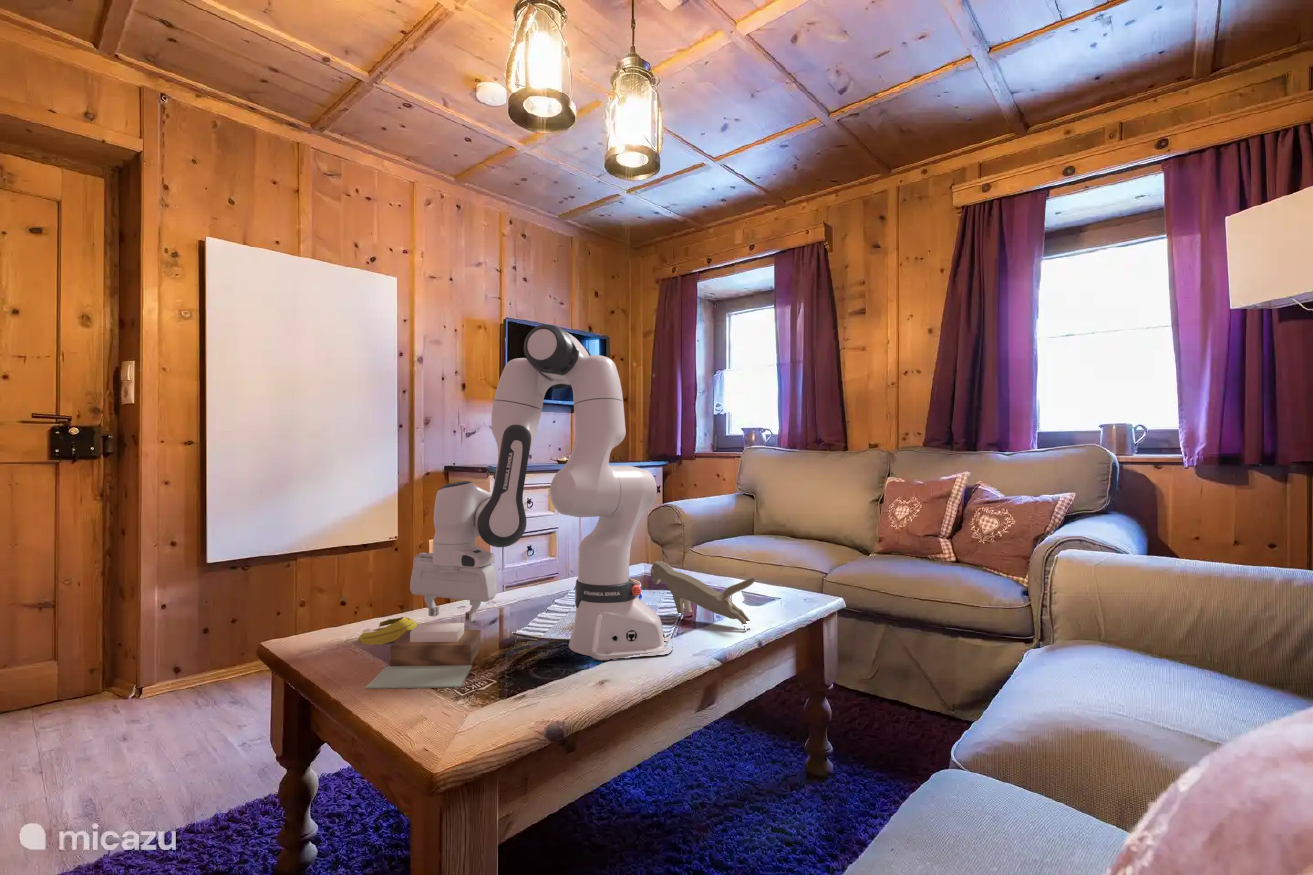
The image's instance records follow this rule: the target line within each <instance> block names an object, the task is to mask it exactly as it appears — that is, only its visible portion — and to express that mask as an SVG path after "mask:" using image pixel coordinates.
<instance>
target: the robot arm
mask: <svg viewBox="0 0 1313 875" xmlns="http://www.w3.org/2000/svg"><path fill="white" fill-rule="evenodd" d="M523 353H524V356H525V357H520V358H519V357H518V358H513V359H511V360H509V361H507V363H506V364H505V366H504V368H503V370H502V372H501V375H500V378H499V381H498V383H497V386H496V391H495V393H494V397H493V403H492V408H491V417H490V418H491V419H490V420H491V426H490V427H491V433H492V434H493V437H494V439H495V442H496V446H497V453H498V454H497V456H498V457H497V465H496V469H495V475H494V482H493V486H492V492H489V491H487V490H485V489H483V488H481V487H479V486H478V485H477V484H475V483H474V482H472V481H470V480H464V481H463V480H462V481H460V480H459V481H455V482H449V483H446V484H444V485H442V486H441V487H440V488H438V490H437V492H436V496H435V500H434V508H433V526H434V532H435V533H434V537H433V539H432V540H433V541H432V552H424V551H422V552H419V554H416V555H415V556H414V558H413V564H412V565H413V567H412V570H411V577H410V582H409V590H410V592H411V594H412V595H417V596H423V600H424V602H425V605H426V607H427V609H428V616H429V617H435V618H436V617H438V616H439V614H440V606H437V605H436V602H435V599H436V598H445V599H454V600H463V601H464V600H465V601H469V606H471V608H470V609H469V611H465V618H464V620H465V621H469V622H473V621H475V620H476V617H477V616H476V615H477V611H478V609H479V608H480V606H481V604H482V602H483V603H486V602H489V601H492V600H493V599H495V597H496V595H497V591H498V579H497V577H498V576H497V571H496V568H495V566H494V565H492V564H494V563H495V561H496V556H495V553H492V552H490V551H488V550H486V549H484V548H481V547H480V546H477V545H476V538H477V537H480V538H481V540H482V541H484V542H485V543H486V544H487V545H489V546H492V547H495V548H507V547H511V546H512V545H514V544H516V543H517V542H519V540H520V539H521V538H522V537H523V536H524V534H525V532H526V528H527V515H526V510H525V507H524V498H523V495H524V489H525V481H526V477H527V469H528V468H527V467H528V465H529V464H528V463H529V457H530V453H531V450H532V446H533V443H534V439H535V437H536V433H537V431H538V426H539V424H540V420H541V416H542V410H543V406H544V402H545V401H544V398H545V396H546V393H547V392H548V390H549V389H550V388H552V389H553V390H560V389H565V388H571V389H572V394H573V395H572V397H573V410H574V434H575V435H574V443H573V446H572V451H571V454H570V456H569V457H568V460H567V462H566V463H565V464H564V465H563V467H562V468H561V469H559V470H558V471H557V472H556V474H555V475H554V476H553V478H552V480H551V483H550V486H549V497H550V501H551V503H552V505H553V507H554V509H555V510H556V511H557V512H558V513H560V514H561V515H564V516H570V517H575V518H596V517H598V521H597V523H596V526H594V529H593V530H592V531H591V532H590V533H588V534H587V535H585V537H584V538H583V539H582V540H581V541H580V543H579V547H578V560H577V562H578V563H577V564H578V565H577V566H578V567H577V579H576V581H575V585H574V605H575V614H574V621H573V626H572V627H573V628H572V632H571V636H570V638H569V641H568V642H569V643H568V648H569V650H571V651H572V652H574V653H577V654H580V655H584V656H589V657H591V658H593V659H594V660H597V661H609V660H610V659H613V660H618V659H617V658H622V657H628V656H633V655H640V654H648V653H653V652H664V651H668V650H669V648H666V647H664V645H666V643H665V642H664V641H672V642H673V640H672V638H671V637H670V636H669V637H667V638H666V639H665V640H664V637H663V633H664V629H663V624H662V620H661V617H660V616H659V614H658V613H657V612H656V610H654V609H653V608H651V607H650V606H649V605H648V604H646V603H645V602H644V601H643V600H641V599H640V598H639V597H638V596H640V595H641V594H642V589H641V586H640V585H638V583H637V582H636V581H635V580H632V579H630V558H631V557H630V556H631V549H632V548H631V546H632V541H633V538H634V535H635V532H636V530H637V527H638V525H639V523H640V521H641V519H642V518H643V517H644V515H645V513H646V512H647V511H648V510H650V508H651V507H652V506H653V505H654V503H655V502H656V500H657V495H658V494H657V493H658V488H657V487H658V486H657V481H656V479H655V477H654V475H653V474H652V473H651V472H650V471H649V470H647V469H643V468H640V467H637V466H632V465H610V455H611V453H612V450H613V449H615V448H616V447H617V446H619V445H620V444H621V443H622V442H623V440H625V437H626V434H627V432H626V420H625V419H626V418H625V417H626V416H625V407H624V396H623V390H622V389H623V388H622V386H621V385H622V383H621V378H620V376H619V372H618V369H617V365H616V363H615V361H613V359H611V358H610V357H608V356H604V355H599V354H595V355H593V354H591V353H590V351H589V350H588V349H587V348H586V347H585V346H584V345H582V343H581V342H580V341H579V340H578V339H577V338H576V337H575V336H573V334H570V333H569V332H567V331H566V330H564V329H563V327H562V328H561V327H559V326H557V325H554V324H549V323H545V324H540V325H537V326H535V327H533V328H532V329H531V330H530V331H529V332H528V334H527V335H526V337H525V338H524V341H523ZM610 661H611V660H610Z"/></svg>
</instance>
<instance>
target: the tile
mask: <svg viewBox="0 0 1313 875" xmlns="http://www.w3.org/2000/svg"><path fill="white" fill-rule="evenodd" d="M464 630H465V623H464V622H427V623H426V622H424V623H421V622H419V623H418V625H417V626H416V627H415V628H414V629H413V630H412V631H411V632H410V642H458V640H459V639H460V638H461V636H462V635H463V633H464Z"/></svg>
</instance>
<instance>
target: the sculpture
mask: <svg viewBox="0 0 1313 875" xmlns="http://www.w3.org/2000/svg"><path fill="white" fill-rule="evenodd" d="M649 572H650V577H651V579H652V584H653V586H658V585H659V584H660V583H661V582H663V583H664V584H665V585H666V587H667V588H668V590H669V591H670V593H671V595H672V599H673V601H674V605H675V608H676V612H677V614H678V613H681V614H682V615H683V616H684V615H685V613H686V612H693V610H692V606H691V603H693V604H695V605H697V606H699V607H701V608H703V609H705V610H707V611H709V612H712V613H714V614H716V615H720V616H722V617H725V618H728V619H731V620H738V621H739V622H740V623H741V625H743V624H747V623H746V621H751V620H750V619H749V617H748V616H747V615H746V613H745V612H744V611H743V609H740V608H739V607H738V606H736V605H735V603H733V600H732V598H731V596H732V595H734V594H736V593H738V592H741V591H742V590H745V589H748V588H749V587H750V586H752V585H753V584H754V583H755V580H756V579H755V578H754V577H750V578H747V579H745V580H743V581H741V582H738V583H736V584H732V585H730V586H727V588H725V590H723V591H722V592H720V591H717V590H716V589H714V588H712V587H710V586H709V585H708V584H706V583H704V582H702V580H699V579H697V578H695V577H693V576H691V575H689V574H686V573H684V572H680V571H678V570H677V571H676V570H674V568H673V567H672V566H671V565H670V564H669V563H667V562H665V561H663V560H656V561H654V562H653V564H652V566H651V568H650V570H649ZM684 610H685V611H684Z"/></svg>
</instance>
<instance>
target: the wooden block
mask: <svg viewBox="0 0 1313 875" xmlns="http://www.w3.org/2000/svg"><path fill="white" fill-rule="evenodd" d="M411 631H412V630H407V631H406V632H405V633H404V634H402V635H401V636H400V637H399V638H398V639H397V640H395V641H393V643H391V644H390V647H389V666H451V665H472V664H473V662H474V661H475V658H476V657H477V655H478V653H479V652H480V650H481V638H482V636H481V634H482V633H481V632H482V631H481V629H464V633H463V635H462V636H461V638H460V639H459V640H458V642H410V632H411Z"/></svg>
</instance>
